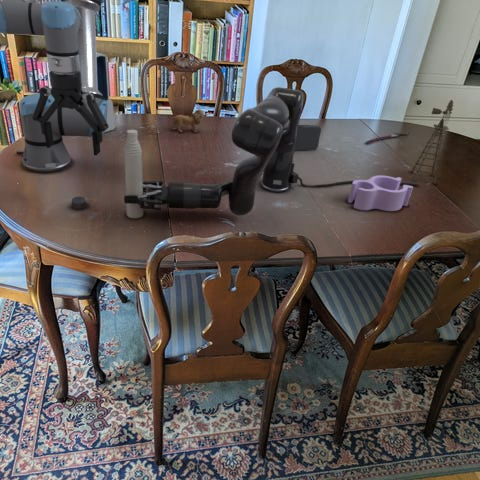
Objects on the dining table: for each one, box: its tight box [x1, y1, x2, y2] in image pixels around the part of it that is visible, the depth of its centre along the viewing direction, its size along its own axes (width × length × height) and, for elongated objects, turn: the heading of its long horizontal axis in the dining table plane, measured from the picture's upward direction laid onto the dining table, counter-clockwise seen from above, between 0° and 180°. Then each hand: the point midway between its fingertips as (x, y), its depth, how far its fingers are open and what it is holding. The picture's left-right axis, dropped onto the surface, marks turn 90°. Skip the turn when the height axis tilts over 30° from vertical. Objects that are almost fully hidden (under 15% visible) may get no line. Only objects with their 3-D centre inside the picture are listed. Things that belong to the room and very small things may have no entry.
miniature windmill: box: [410, 99, 454, 185], centre depth 171 cm, size 9×8×30 cm
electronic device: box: [96, 51, 116, 133], centre depth 182 cm, size 12×8×30 cm, turn 148°
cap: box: [71, 196, 87, 210], centre depth 137 cm, size 4×4×2 cm
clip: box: [347, 175, 414, 212], centre depth 156 cm, size 20×12×7 cm, turn 109°
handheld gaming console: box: [294, 124, 322, 151], centre depth 189 cm, size 23×3×10 cm, turn 108°
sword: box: [365, 132, 410, 145], centre depth 213 cm, size 31×3×1 cm, turn 126°
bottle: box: [123, 129, 144, 219], centre depth 130 cm, size 5×5×25 cm
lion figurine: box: [169, 108, 205, 133], centre depth 196 cm, size 15×5×9 cm, turn 110°
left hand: (73, 149), depth 129 cm, fingers open, 13 cm apart
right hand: (125, 194), depth 133 cm, fingers open, 6 cm apart
